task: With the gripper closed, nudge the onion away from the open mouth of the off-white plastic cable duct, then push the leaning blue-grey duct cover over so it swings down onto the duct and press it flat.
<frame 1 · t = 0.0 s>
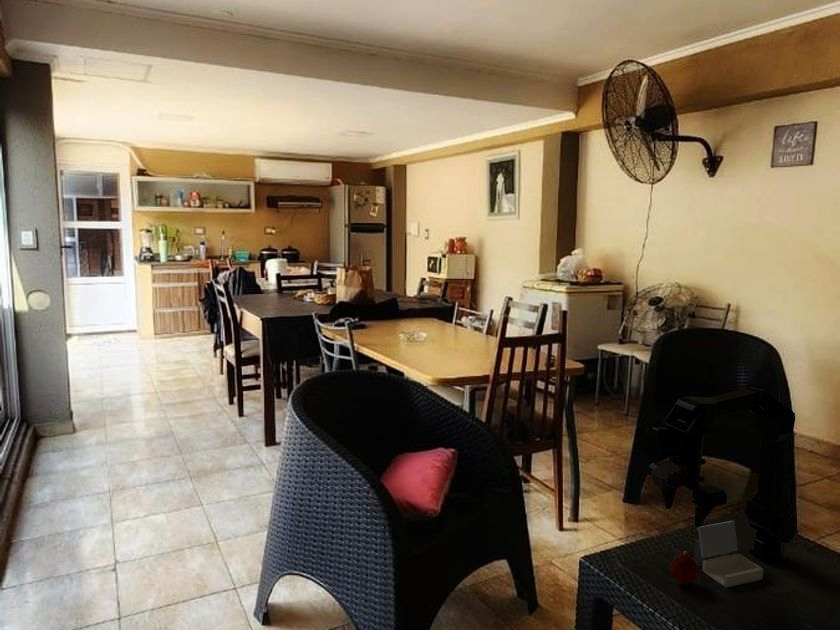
hand: (682, 517, 140), 15 cm above the table, fingers open, 9 cm apart
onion: (682, 584, 139), on the table
cover: (717, 538, 147), point 6 cm above the table, hinge at 105.0°
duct: (719, 566, 147), on the table
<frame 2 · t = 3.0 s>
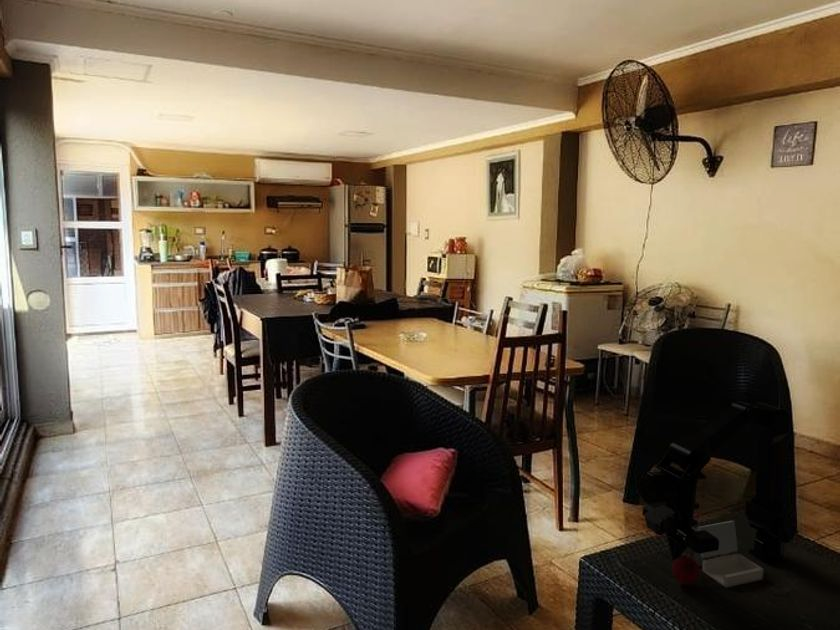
hand: (675, 559, 141), 4 cm above the table, fingers closed
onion: (682, 584, 139), on the table, touching gripper
everything else where it was.
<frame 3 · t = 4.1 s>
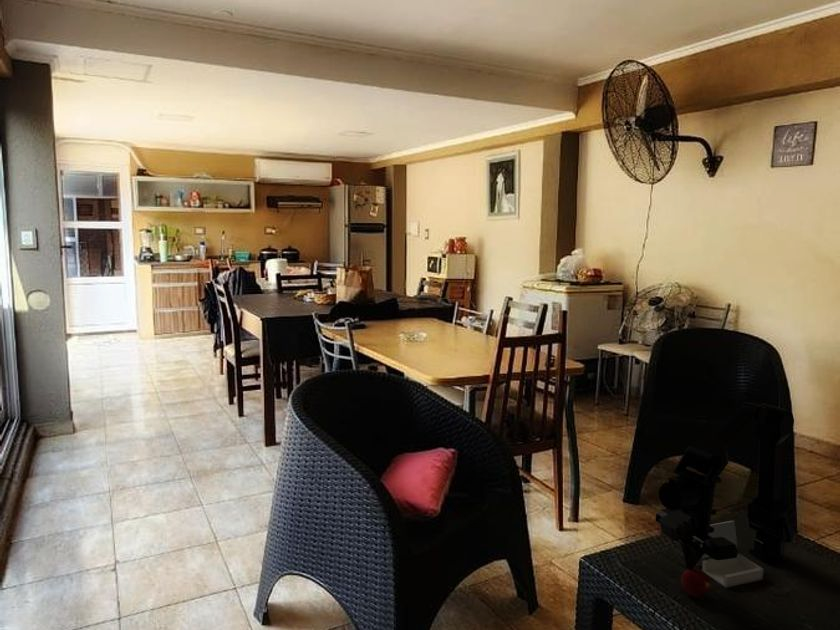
hand: (689, 568, 136), 6 cm above the table, fingers closed
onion: (684, 579, 138), point 2 cm above the table, touching gripper
everything else where it was.
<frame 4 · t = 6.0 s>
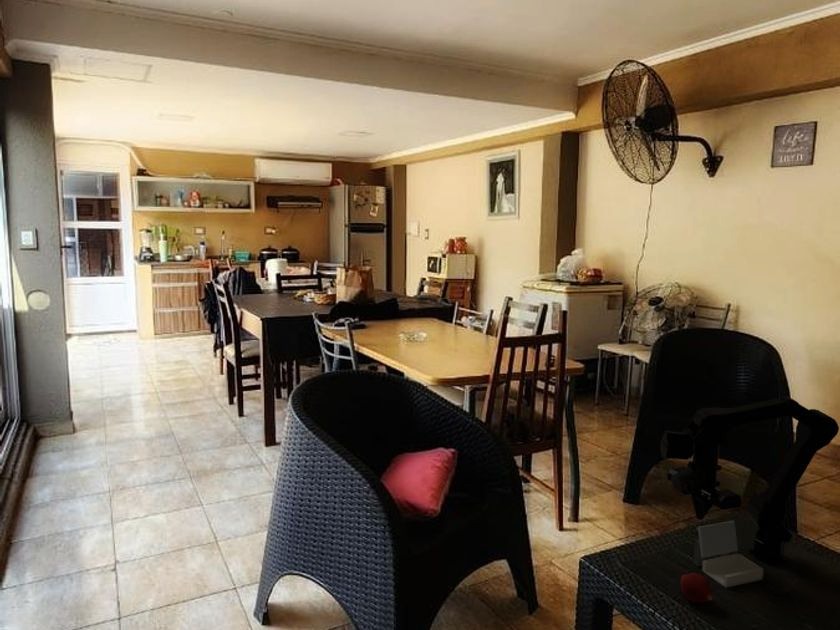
hand: (699, 519, 152), 9 cm above the table, fingers closed
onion: (681, 576, 136), point 3 cm above the table
everything else where it was.
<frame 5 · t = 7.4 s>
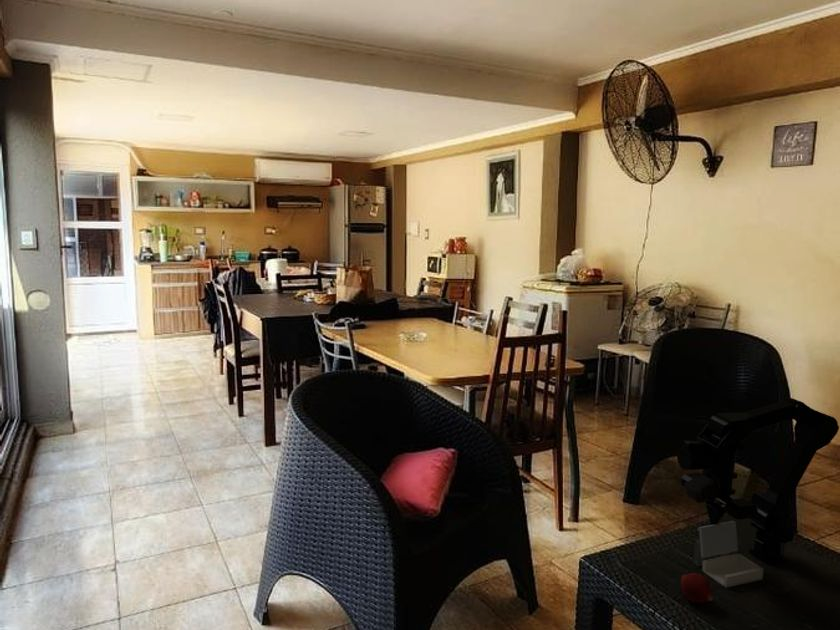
hand: (713, 526, 148), 9 cm above the table, fingers closed, pressing on cover
cover: (717, 538, 147), point 7 cm above the table, hinge at 102.4°, touching gripper
everything else where it was.
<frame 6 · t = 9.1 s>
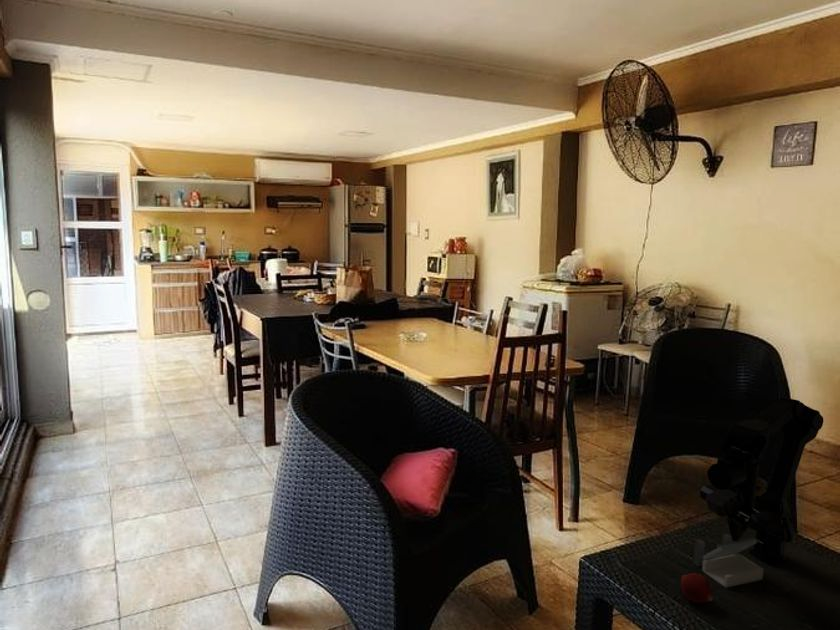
hand: (735, 541, 142), 8 cm above the table, fingers closed, pressing on cover
cover: (729, 548, 144), point 6 cm above the table, hinge at 46.7°, touching gripper
everything else where it was.
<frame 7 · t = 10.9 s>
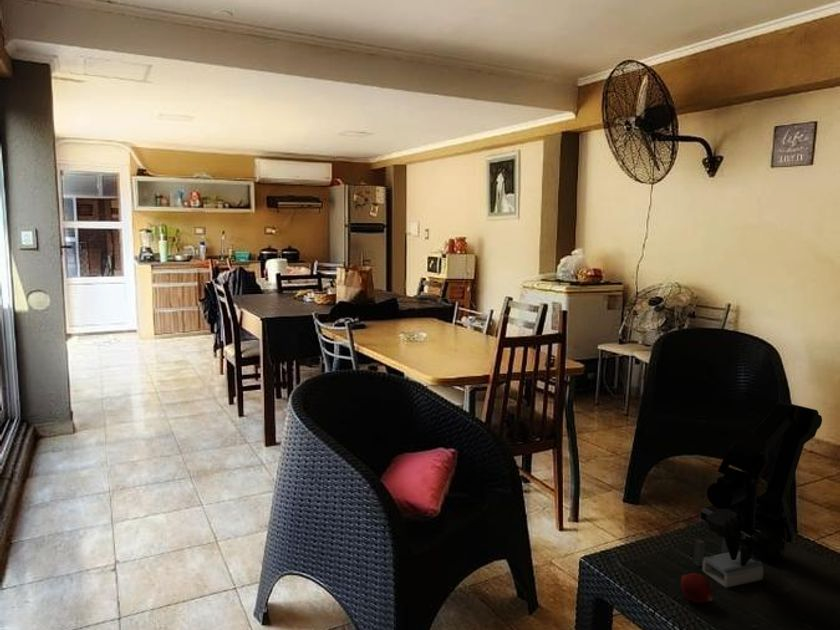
hand: (738, 562, 142), 4 cm above the table, fingers closed
cover: (733, 561, 143), point 3 cm above the table, hinge at -0.2°, touching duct, gripper
everything else where it was.
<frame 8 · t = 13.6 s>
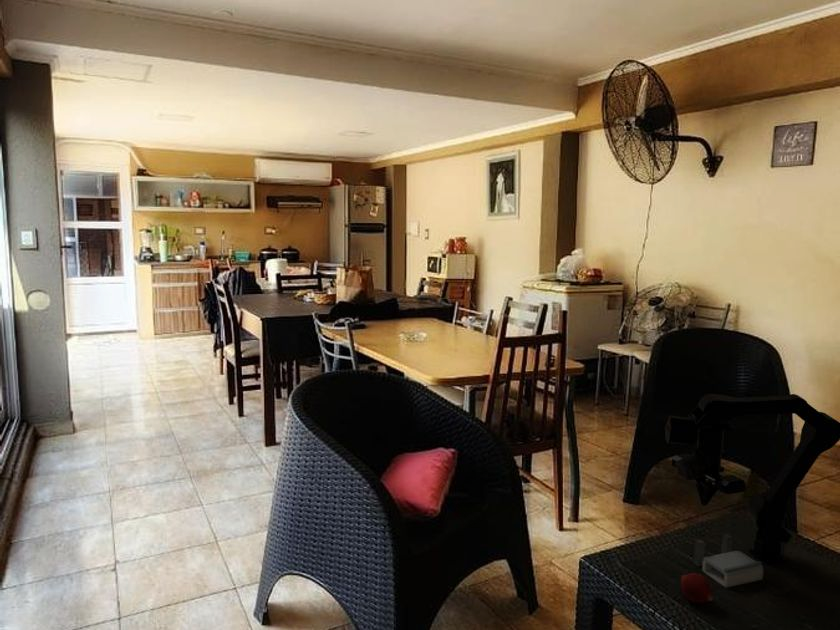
hand: (704, 504, 153), 12 cm above the table, fingers closed
cover: (733, 561, 143), point 3 cm above the table, hinge at -0.1°, touching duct
everything else where it was.
at the end: cover at +0° (first picture: +105°); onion moved 4.3 cm from its start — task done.
